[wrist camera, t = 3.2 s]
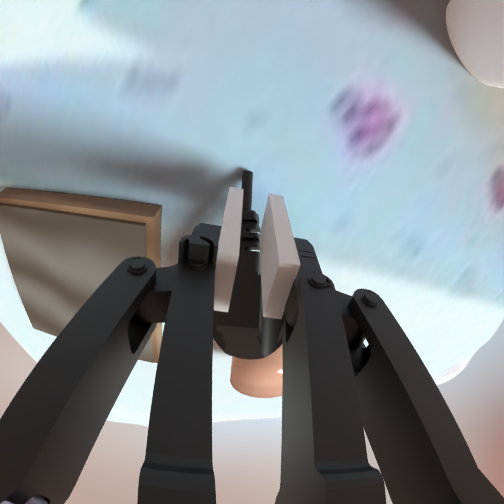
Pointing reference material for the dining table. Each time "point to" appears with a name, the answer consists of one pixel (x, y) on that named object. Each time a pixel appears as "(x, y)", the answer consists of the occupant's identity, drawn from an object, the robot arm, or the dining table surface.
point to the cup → (478, 37)
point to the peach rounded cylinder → (258, 375)
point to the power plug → (247, 296)
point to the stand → (73, 250)
